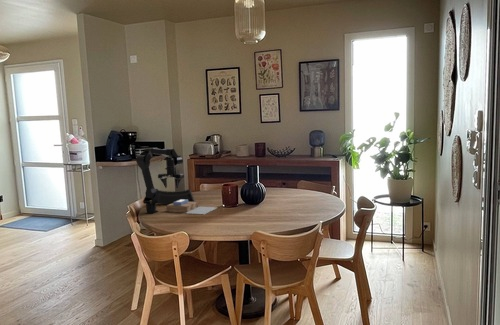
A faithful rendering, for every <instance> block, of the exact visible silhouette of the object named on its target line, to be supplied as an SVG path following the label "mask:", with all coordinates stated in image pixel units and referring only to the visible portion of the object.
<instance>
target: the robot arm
mask: <svg viewBox="0 0 500 325" xmlns="http://www.w3.org/2000/svg"><path fill="white" fill-rule="evenodd" d="M153 155H162V156H163V157H164V158H163V161H165V165H166V166H165V168H164V169H165V170H166V172H165V173H159V174H158V175H157V178H158V179H159V180H160V181H161V182H162V184H163V186H164V188H165V189H166V188H167V187H168V183H167V182H168V178H175V179H174V182H175V187H176V189H178V188H179V185H180V182H181V180H182V179H183V178H185V174H184V173H180V170H179V169H177V168H176V166H181V165H183V163H184V160H183V158H182V156H181V155H180V154H179V155H178V154H177V152H176V150H175V148H163V149H161V148H154V147H146V149H144V151H142V152H141V153H139V155H137V157H136V158H135V161H136V165H137V166H138V167H139V169H141V173H142V178H143V180H144V184H145V188H146V189H145V196H144V198H143V199H142V203H143V204H145V208H146V211H145V212H144V214H155V213H157V212H159V210H157V204H158V198H159V193H158V190H159V189H158V188H156V187H155V186H154V183H153V177H152V173H151V170H150V166H151V159H152V158H153Z"/></svg>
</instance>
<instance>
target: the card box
mask: <svg viewBox="0 0 500 325" xmlns="http://www.w3.org/2000/svg"><path fill="white" fill-rule="evenodd" d="M173 203H174V205H183V204H186V203H188V199H180V200H177V201H175V202H173Z"/></svg>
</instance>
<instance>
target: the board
mask: <svg viewBox="0 0 500 325" xmlns="http://www.w3.org/2000/svg"><path fill="white" fill-rule="evenodd" d="M197 207H199V202H198V201H194V202H189V201H188V203H186V204H183V205H174V203H172V204H166V212H171V213H185V214H188V213H187V212H189V211H191V210H193V209H195V208H197Z"/></svg>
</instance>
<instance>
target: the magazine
mask: <svg viewBox="0 0 500 325" xmlns="http://www.w3.org/2000/svg"><path fill="white" fill-rule="evenodd" d="M158 193H159V198H158V203H157V204H156V206H157V205H169V204H172V203H173V202H175V201H177V200H180V199H188V201H189V202H196V201H195V200H196V199H195V198H194V196H193V192H192V190H191V188H188V189H185V190H179V191H177V190H176V191H171V190H170V191H169V190H167V191H166V190H159V189H158Z"/></svg>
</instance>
